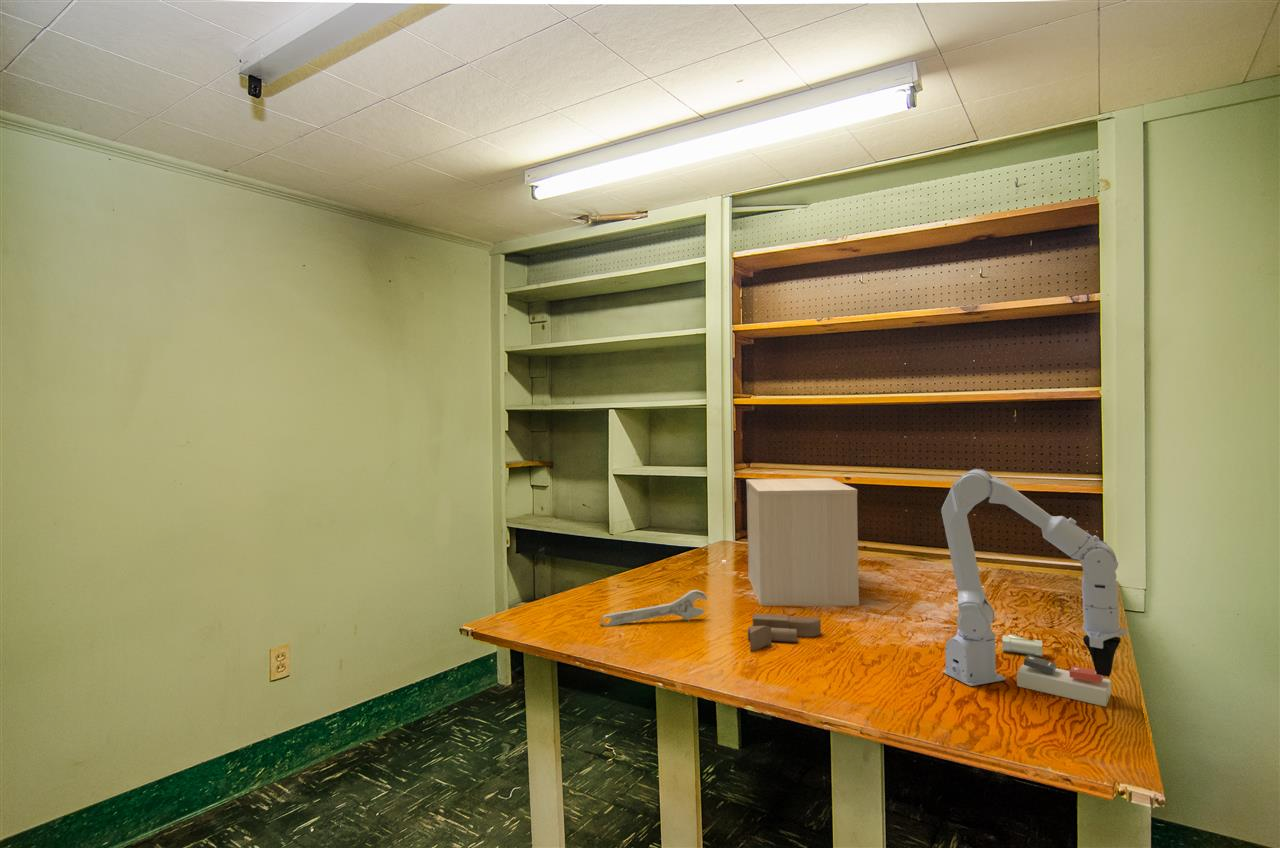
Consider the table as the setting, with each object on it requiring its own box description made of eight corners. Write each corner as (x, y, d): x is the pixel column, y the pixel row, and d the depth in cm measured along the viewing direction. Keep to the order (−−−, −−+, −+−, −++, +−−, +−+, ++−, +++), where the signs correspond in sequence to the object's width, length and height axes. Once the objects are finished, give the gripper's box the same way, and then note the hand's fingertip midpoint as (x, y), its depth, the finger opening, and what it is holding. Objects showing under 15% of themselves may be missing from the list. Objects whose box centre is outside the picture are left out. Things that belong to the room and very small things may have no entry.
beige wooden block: (747, 576, 229) (746, 479, 228) (831, 576, 227) (830, 477, 226) (760, 605, 194) (758, 490, 193) (859, 605, 192) (857, 489, 192)
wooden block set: (750, 609, 174) (820, 612, 169) (750, 630, 174) (820, 634, 169) (745, 629, 157) (822, 633, 153) (745, 652, 157) (823, 657, 153)
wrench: (603, 635, 180) (708, 615, 183) (603, 637, 178) (709, 617, 182) (599, 606, 179) (704, 587, 183) (599, 608, 178) (706, 589, 181)
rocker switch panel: (1111, 694, 129) (1110, 679, 129) (1106, 706, 124) (1105, 691, 124) (1024, 675, 139) (1024, 661, 139) (1017, 686, 134) (1016, 671, 134)
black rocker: (1055, 669, 134) (1056, 663, 134) (1052, 674, 131) (1053, 668, 131) (1027, 660, 137) (1028, 654, 137) (1023, 664, 135) (1024, 658, 135)
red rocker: (1104, 677, 128) (1103, 670, 128) (1101, 682, 126) (1101, 675, 126) (1072, 671, 132) (1072, 665, 132) (1069, 677, 129) (1069, 670, 129)
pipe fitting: (1003, 646, 158) (1002, 653, 152) (1003, 630, 158) (1002, 636, 153) (1042, 652, 154) (1042, 659, 148) (1042, 635, 154) (1042, 642, 148)
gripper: (1121, 617, 119) (1124, 691, 119) (1130, 599, 130) (1133, 667, 130) (1075, 611, 124) (1078, 682, 124) (1087, 594, 135) (1090, 660, 134)
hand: (1103, 674), depth 127 cm, fingers closed, pressing on red rocker
